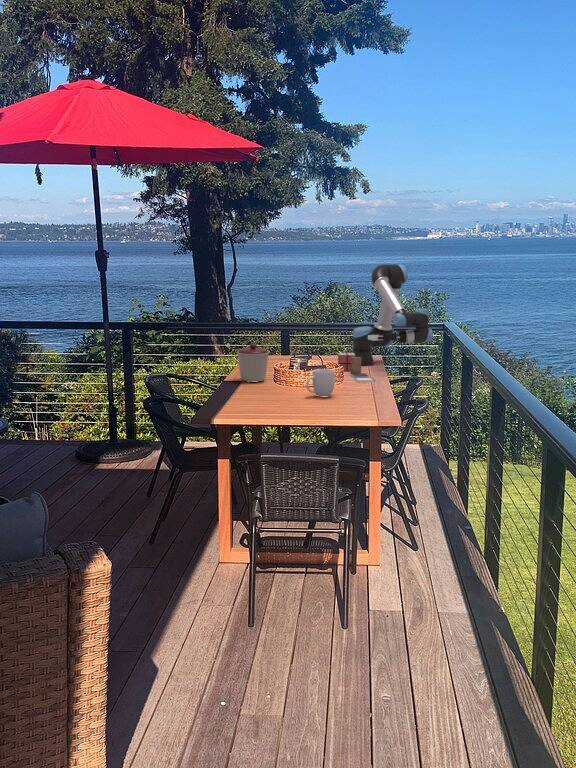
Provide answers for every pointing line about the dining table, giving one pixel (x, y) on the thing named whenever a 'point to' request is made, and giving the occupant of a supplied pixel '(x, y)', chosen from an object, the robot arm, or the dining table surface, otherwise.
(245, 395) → the dining table surface
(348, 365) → the puzzle cube
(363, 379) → the print board
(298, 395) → the dining table surface
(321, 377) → the mug
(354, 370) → the stamp
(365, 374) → the ink pad
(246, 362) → the canister
